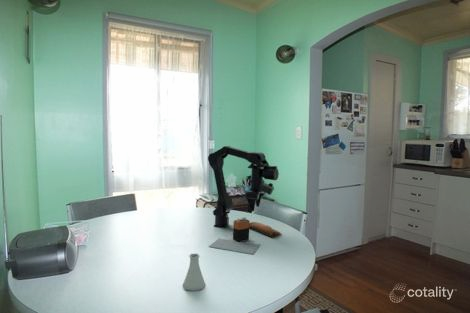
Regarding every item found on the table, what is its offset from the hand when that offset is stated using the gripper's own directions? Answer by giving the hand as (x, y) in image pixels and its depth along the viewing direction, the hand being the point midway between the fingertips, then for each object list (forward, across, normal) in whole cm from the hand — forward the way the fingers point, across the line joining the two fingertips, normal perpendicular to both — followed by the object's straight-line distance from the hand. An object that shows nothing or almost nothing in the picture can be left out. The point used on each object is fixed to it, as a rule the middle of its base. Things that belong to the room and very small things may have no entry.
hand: (255, 208), depth 144 cm
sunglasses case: (+13, +4, -5) cm, 14 cm away
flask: (+12, -58, +4) cm, 59 cm away
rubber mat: (+12, -21, +3) cm, 24 cm away
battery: (+12, -13, +3) cm, 18 cm away
